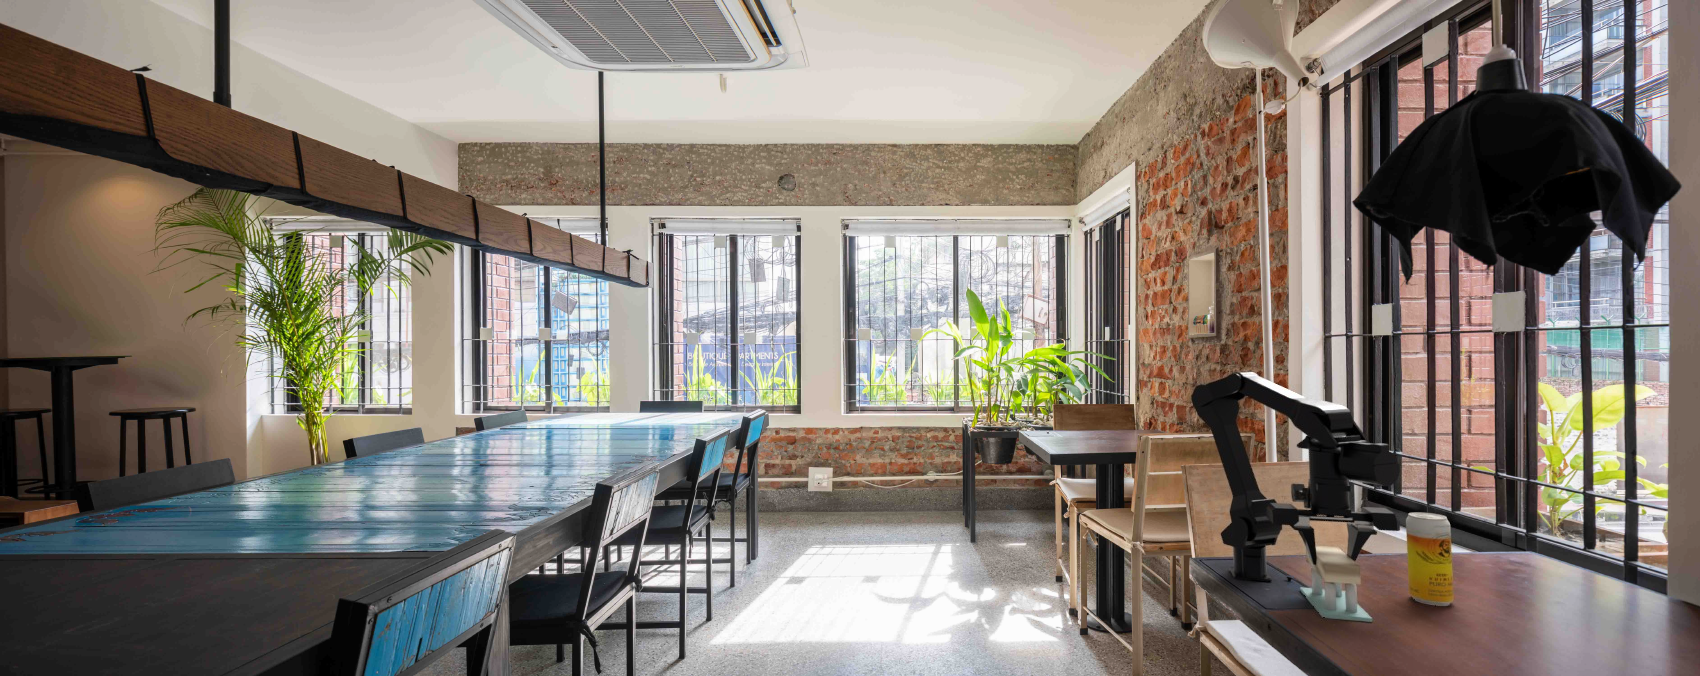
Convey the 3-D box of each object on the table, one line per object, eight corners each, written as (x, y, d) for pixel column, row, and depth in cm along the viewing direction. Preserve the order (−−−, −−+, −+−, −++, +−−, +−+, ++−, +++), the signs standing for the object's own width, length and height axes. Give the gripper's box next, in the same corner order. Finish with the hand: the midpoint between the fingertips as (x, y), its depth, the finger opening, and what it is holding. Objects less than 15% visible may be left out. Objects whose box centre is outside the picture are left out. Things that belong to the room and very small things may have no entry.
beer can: (1436, 608, 120) (1433, 520, 121) (1400, 597, 126) (1397, 513, 126) (1462, 604, 122) (1458, 517, 122) (1425, 593, 128) (1422, 510, 128)
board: (1360, 584, 117) (1360, 566, 117) (1325, 581, 118) (1325, 563, 118) (1338, 563, 128) (1337, 546, 128) (1306, 561, 130) (1305, 544, 130)
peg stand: (1300, 590, 131) (1299, 563, 131) (1344, 593, 128) (1343, 566, 128) (1322, 617, 118) (1321, 587, 118) (1372, 621, 115) (1371, 591, 115)
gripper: (1375, 470, 128) (1378, 556, 128) (1258, 467, 134) (1261, 549, 134) (1399, 481, 117) (1403, 575, 117) (1272, 477, 124) (1275, 566, 123)
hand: (1331, 565), depth 123 cm, fingers closed on board, 5 cm apart
